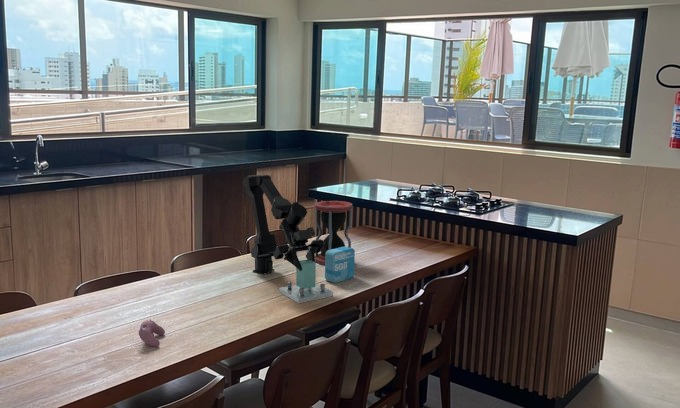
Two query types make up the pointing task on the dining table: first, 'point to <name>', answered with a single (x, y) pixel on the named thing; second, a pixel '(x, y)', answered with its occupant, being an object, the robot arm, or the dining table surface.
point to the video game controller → (150, 332)
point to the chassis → (305, 292)
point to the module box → (306, 274)
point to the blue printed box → (339, 264)
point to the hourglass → (332, 225)
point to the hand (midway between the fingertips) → (307, 269)
